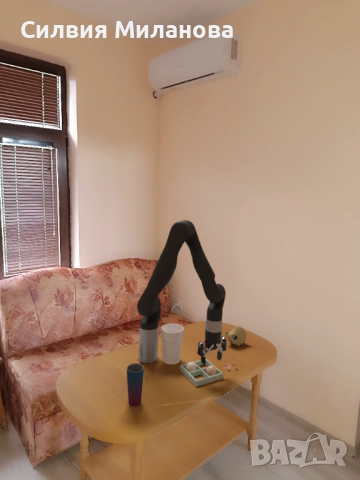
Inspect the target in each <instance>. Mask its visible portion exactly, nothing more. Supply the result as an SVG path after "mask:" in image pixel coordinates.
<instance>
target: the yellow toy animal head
mask: <svg viewBox="0 0 360 480" xmlns="http://www.w3.org/2000/svg"><path fill="white" fill-rule="evenodd" d="M224 334H225V335H224V336H225V339H226V340H228V341H229V342H230V344H232V345H233V346H237V347H240V346H241V345H242V344H244V343H245V342H246V340H247V332H246V330H245V329H244V327H243V326H241V325H237V326H235V327H234V328H232V329H231V330H229V331H227V332H225V333H224Z"/></svg>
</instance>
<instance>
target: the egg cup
mask: <svg viewBox="0 0 360 480" xmlns="http://www.w3.org/2000/svg"><path fill="white" fill-rule="evenodd" d="M231 366H236V365H235V362H232V363H224V365H223V368H224V369H225V370H226V371H229V372H231V371H230V368H231ZM235 369H237V370H238V366H237V367H235Z"/></svg>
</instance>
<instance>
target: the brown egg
mask: <svg viewBox="0 0 360 480" xmlns="http://www.w3.org/2000/svg"><path fill="white" fill-rule="evenodd" d="M214 366H215V365H214ZM214 366H212V365H210V366H206V367H207V369H206V373H207V374H208V375H209V376H212V375H216V374H217V369H216V368H217V366H215V367H214Z"/></svg>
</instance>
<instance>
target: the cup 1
mask: <svg viewBox="0 0 360 480" xmlns="http://www.w3.org/2000/svg"><path fill="white" fill-rule="evenodd" d="M144 371H145V366H144V365H143V364H142V363H137V362H135V363H130V364H128V365H127V366H126V380H127V382H126V383H127V385H126V386H127V400H128V401H127V402H128V405H129V406H131V407H137V406H140V405H141V404H142V398H143V397H142V396H143V395H142V394H143V385H144V383H143V382H144Z"/></svg>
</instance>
